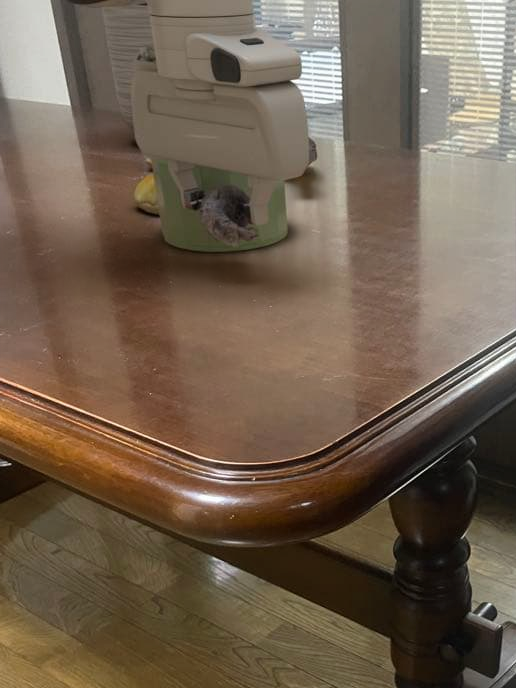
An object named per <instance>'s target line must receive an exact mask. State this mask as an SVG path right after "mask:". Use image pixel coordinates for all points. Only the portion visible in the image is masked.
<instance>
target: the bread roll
mask: <svg viewBox="0 0 516 688" xmlns="http://www.w3.org/2000/svg"><path fill="white" fill-rule="evenodd" d="M133 198H134V199H133V200H134V203H135V205H136V206H137V207H138V208H139V209H141V210H143V211H144V212H147V213H149V214H152V215H157V216H158V215H159V216H160V214H159V208H158V201H157V195H156V188H155V181H154V175H153V173H151V174H149V175H147V176H146V177H145V178H143V179H142V180H141V181H140V182H139V183H138V184H137V185H136V188H135V191H134V193H133Z"/></svg>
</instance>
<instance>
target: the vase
mask: <svg viewBox="0 0 516 688" xmlns="http://www.w3.org/2000/svg"><path fill="white" fill-rule="evenodd" d="M101 13H102V18H103V25H104V29H105V36H106V42H107V48H108V53H109V59H110V65H111V71H112V76H113V82H114V87H115V93H116V98H117V102H118V107H119V111H120V113H121V117H122V120H123V121H124V123H125V124H126V126H127V127H128V129H130V130H131V131H132V132H133V133H134V124H133V113H132V97H131V87H132V79H133V76H134V71H133V61H134V60H135V58H136V56H137V54H138V53H139V52H140V49H141V48H143V47H152V48H154V42H153V34H152V27H151V21H150V13H149V8H148V6H142V5H130V6H123V7H101ZM141 59H142V58H141ZM143 60H144V59H143ZM154 61H156V60H154Z"/></svg>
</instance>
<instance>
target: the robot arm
mask: <svg viewBox="0 0 516 688" xmlns="http://www.w3.org/2000/svg"><path fill="white" fill-rule="evenodd" d="M65 1H66V2H68V3H70V4H74V5H78V6H82V7H86V8H92V9H93V8H94V9H100V8H101V9H102V7H123V6H130V5H142V6H148V8H149V13H150V21H151V27H152V34H153V42H154V48H152V47H143V48H141V49H140V52H139V53H138V54H137V56H136V58H135V60H134V61H133V71H134V76H133V79H132V87H131V97H132V113H133V124H134V132H133V133H134V139H135V142H136V144H137V146H138V148H139V150H140V152H141V154H143V155H145V156H147V155H149V156H155V157H160V158H165V159H167V162H168V169H169V172H170V174H171V176H172V178H173V180H174V181H175V183H176V185H177V187H178V189H179V190H180V194H181V201H182V206H183V208H185V209H190V210H195V211H196V210H198V209H200V205H201V202H202V200H203V197H204V189H200V188H198V186H197V183H196V181H195V178H194V176H193V173H192V171H191V169H194V164H195V165H200V166H205V167H210V168H215V169H220V170H225V171H230V172H235V173H240V174H245V175H247V178H248V186H249V187H251V188H253V191H252V194H251V198H250V202H249V203H247V204H243V211H244V214H245V216H244V220H245V222H246V223H248V224H252V225H257V226H260V225H263V224H266V223H267V222H268V220H269V216H268V204H267V203H269V200H270V198H271V195H272V193H273V190H274V188H275V181H282V180H284V181H286V180H290V179H294V178H295V179H296V178H298V177H301V176H303V175H304V173H305V172H306V170H307V168H308V167H309V166H308V163H309V138H310V136H309V125H308V115H307V109H306V108H307V107H306V102H305V99H304V96H303V93H302V90H301V89H300V87H299V86H298V85H297V84H296V83H295V82H293V81H295V80H298V79H300V78H301V77H302V73H303V63H302V57H301V55H300V53H299V52H298V51H296V50H295V49H294V48H292V47H291V46H288V45H287V44H286V43H285V44H284V43H283V42H281V41H280V40H278V39H277V38H275V37H273V36H271V35H270V34H268V33H267V32H266V31H264V30H263V29H261V28H259V27H256V16H255V15H256V14H255V7H254V4H253V0H65ZM141 58H142V59H141ZM143 59H144V60H143ZM154 60H156V61H154ZM307 166H308V167H307Z"/></svg>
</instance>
